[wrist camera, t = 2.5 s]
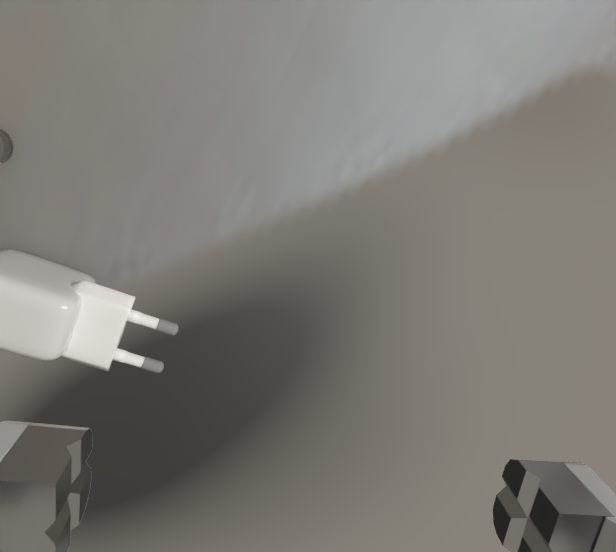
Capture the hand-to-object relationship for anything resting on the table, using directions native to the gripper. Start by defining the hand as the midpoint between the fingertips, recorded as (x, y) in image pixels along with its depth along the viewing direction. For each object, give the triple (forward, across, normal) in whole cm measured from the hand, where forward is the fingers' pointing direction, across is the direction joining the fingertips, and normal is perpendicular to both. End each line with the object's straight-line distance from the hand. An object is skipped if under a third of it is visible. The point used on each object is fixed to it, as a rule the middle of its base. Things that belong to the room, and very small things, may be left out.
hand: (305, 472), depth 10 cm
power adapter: (+23, +11, +6) cm, 26 cm away
